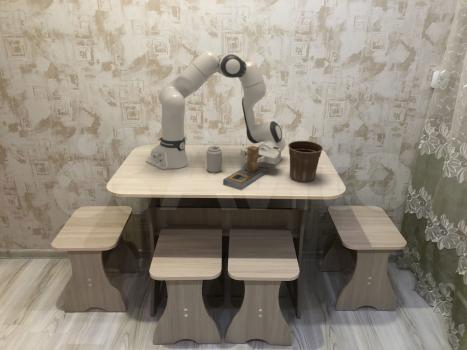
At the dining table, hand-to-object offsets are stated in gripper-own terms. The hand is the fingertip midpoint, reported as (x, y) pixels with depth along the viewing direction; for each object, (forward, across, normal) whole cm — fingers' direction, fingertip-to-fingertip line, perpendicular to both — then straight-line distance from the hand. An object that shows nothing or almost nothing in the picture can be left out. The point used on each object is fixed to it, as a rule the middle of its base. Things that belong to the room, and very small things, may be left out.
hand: (251, 159), depth 191 cm
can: (+6, -18, +8) cm, 21 cm away
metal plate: (+5, 0, +8) cm, 9 cm away
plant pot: (-12, +22, +8) cm, 26 cm away
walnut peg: (-1, 0, +8) cm, 8 cm away
